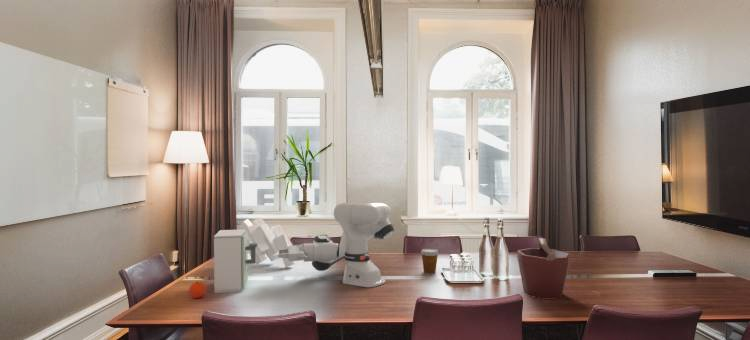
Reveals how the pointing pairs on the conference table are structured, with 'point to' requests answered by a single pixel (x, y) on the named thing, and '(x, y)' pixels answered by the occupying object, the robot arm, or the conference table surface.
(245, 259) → the hatch
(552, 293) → the bucket
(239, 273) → the storage box
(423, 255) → the disposable coffee cup
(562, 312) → the conference table surface
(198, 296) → the clementine
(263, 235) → the pile of blocks
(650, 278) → the conference table surface
